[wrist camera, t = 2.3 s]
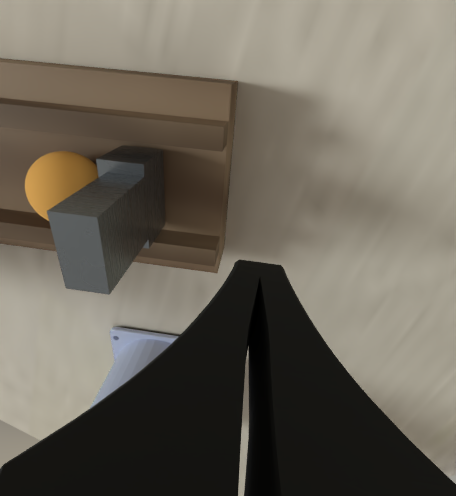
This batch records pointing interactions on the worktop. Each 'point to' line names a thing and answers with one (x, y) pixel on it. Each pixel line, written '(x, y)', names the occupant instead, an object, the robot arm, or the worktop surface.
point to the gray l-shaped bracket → (110, 219)
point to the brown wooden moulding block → (113, 136)
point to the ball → (57, 179)
